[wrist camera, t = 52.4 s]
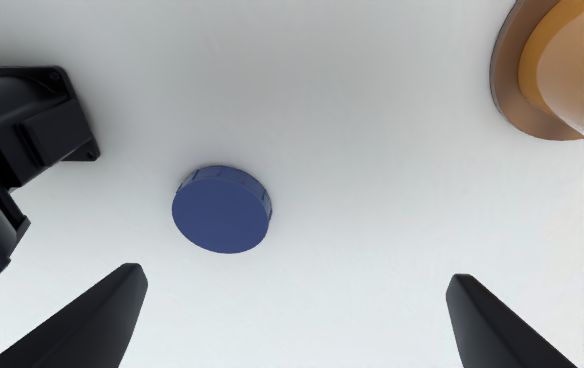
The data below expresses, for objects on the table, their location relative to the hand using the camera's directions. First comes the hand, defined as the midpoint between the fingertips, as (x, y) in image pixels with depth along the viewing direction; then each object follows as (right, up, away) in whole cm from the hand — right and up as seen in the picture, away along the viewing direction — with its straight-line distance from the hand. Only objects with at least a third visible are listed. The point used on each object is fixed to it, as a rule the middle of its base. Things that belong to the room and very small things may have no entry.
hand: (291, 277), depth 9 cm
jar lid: (-5, 0, +14) cm, 15 cm away
